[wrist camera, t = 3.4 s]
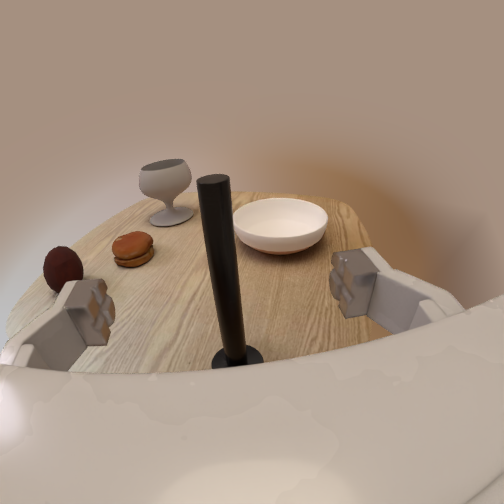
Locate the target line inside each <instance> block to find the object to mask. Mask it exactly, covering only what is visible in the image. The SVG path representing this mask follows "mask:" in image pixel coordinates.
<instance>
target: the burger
mask: <svg viewBox="0 0 504 504" xmlns="http://www.w3.org/2000/svg"><path fill="white" fill-rule="evenodd" d="M152 244H153V239H152V237H151V236H150V235H148V234H147V233H145V232H140V231H135V232H131V233H129V234H126V235H123V236H120V237H118V238H117V239H116V240H115V241H114V242H113V245H112V252H113V254H114V255H115V256H116V257H115V262H116V263H117V264H118V265H123V266H126V267H131V266H132V267H135V266H138V265H141V264H143V263H145V262H147V261H148V260H149V259H150V258H151V257H152V256H153V254H154V249H153V245H152Z"/></svg>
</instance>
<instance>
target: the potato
mask: <svg viewBox="0 0 504 504" xmlns="http://www.w3.org/2000/svg"><path fill="white" fill-rule="evenodd" d="M43 271H44V277H45V279H46V282H47V284H48V285H49V287H50V288H51V289H52V290H54V291H56V292H58V293H60V292H61V290H62V288H63V287H64V285H65V283H66V282H69V281H76V280H82V279H83V266H82V262H81V260H80V258H79V257H78V255H77V254H76V252H74V251H73V250H71V249H70V248H68V247H62V246H58V247H56V248H53V249H52V250H51V251H50V252H49V253H48V255H47V256H46V258H45V262H44V266H43Z"/></svg>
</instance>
